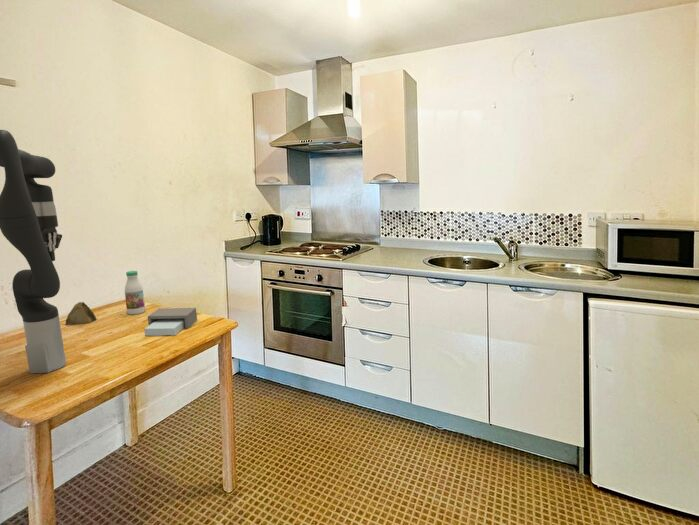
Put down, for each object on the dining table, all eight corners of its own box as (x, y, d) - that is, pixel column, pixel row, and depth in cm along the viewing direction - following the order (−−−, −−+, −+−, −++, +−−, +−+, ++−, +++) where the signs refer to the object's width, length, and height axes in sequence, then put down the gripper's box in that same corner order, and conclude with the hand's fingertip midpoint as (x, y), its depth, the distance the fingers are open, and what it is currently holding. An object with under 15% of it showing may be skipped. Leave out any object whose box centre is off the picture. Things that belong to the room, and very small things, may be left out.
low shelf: (188, 328, 166) (187, 315, 165) (148, 329, 165) (147, 316, 164) (197, 319, 176) (196, 307, 175) (160, 320, 176) (158, 308, 175)
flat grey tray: (175, 335, 158) (174, 327, 157) (145, 335, 158) (144, 328, 157) (190, 321, 174) (190, 315, 173) (163, 322, 174) (162, 315, 173)
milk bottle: (128, 311, 190) (123, 270, 186) (145, 308, 193) (141, 269, 189) (126, 315, 183) (121, 273, 179) (145, 313, 186) (140, 272, 182)
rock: (56, 321, 168) (76, 319, 167) (62, 303, 172) (82, 301, 171) (77, 329, 178) (96, 327, 176) (82, 311, 182) (101, 309, 180)
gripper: (40, 215, 136) (48, 264, 140) (66, 213, 149) (73, 257, 153) (18, 215, 136) (27, 264, 139) (46, 213, 149) (53, 258, 152)
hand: (51, 261), depth 146 cm, fingers closed
